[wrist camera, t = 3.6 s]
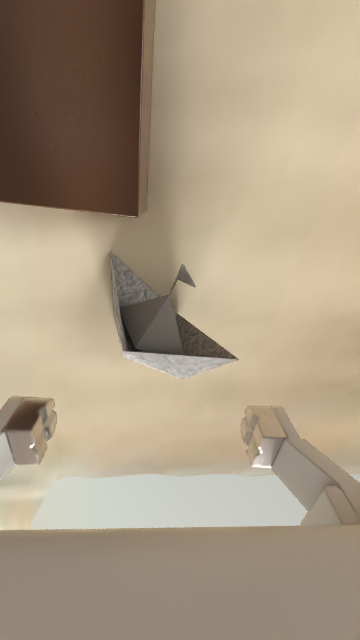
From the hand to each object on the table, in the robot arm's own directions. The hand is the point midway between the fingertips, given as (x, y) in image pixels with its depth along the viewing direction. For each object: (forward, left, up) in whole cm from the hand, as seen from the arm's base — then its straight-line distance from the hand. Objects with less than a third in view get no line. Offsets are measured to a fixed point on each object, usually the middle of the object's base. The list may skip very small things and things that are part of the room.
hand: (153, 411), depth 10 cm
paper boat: (0, 0, -11) cm, 11 cm away
